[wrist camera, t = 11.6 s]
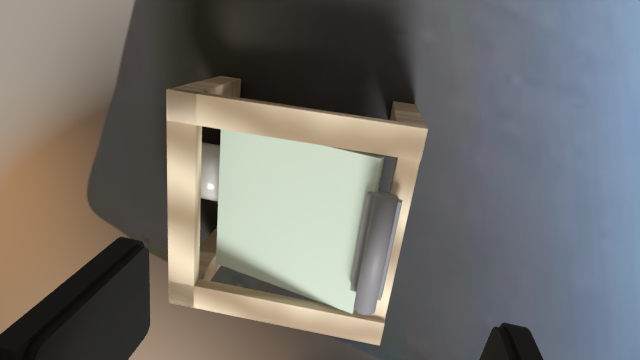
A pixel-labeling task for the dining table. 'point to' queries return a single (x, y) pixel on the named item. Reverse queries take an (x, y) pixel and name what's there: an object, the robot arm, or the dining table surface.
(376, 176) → the trapdoor
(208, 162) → the stone
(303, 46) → the dining table surface
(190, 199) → the trapdoor frame
